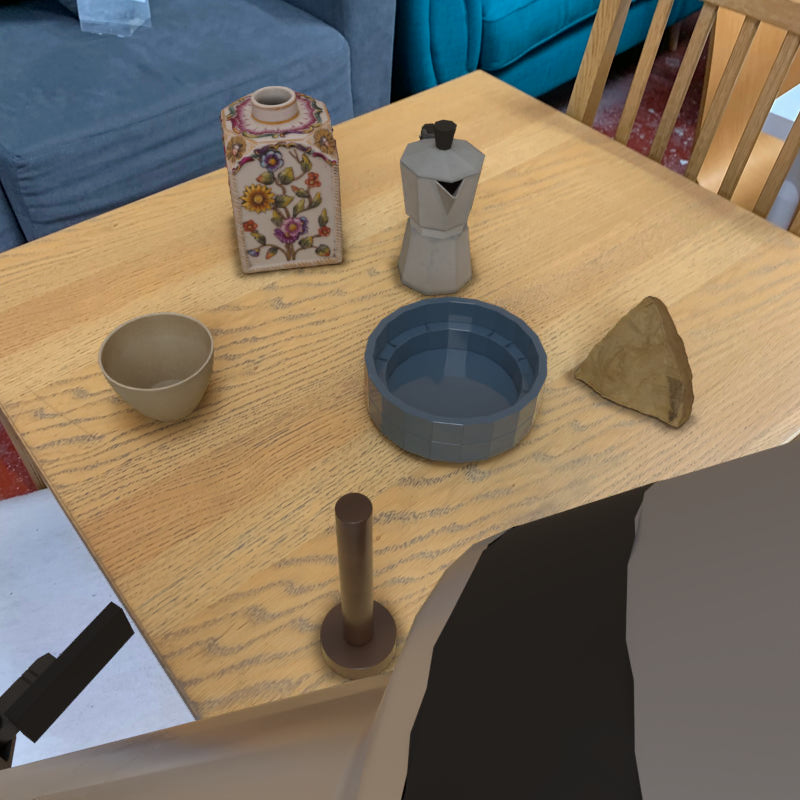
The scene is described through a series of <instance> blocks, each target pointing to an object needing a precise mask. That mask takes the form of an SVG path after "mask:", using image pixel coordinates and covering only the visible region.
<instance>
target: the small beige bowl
mask: <svg viewBox="0 0 800 800" xmlns="http://www.w3.org/2000/svg"><path fill="white" fill-rule="evenodd" d="M214 341H215V340H214V336H213V334H212V332H211V330H210V329H209V327H207V325H205V324H204V323H203V322H202V321H200V320H199V319H198V318H195V317H193V316H191V315H187V314H184V313H179V312H171V311H161V312H150V313H146V314H142V315H138V316H135V317H133V318H130V319H128V320H126V321H124V322H123V323H121V324H120V325H119V324H118V326H116V327H115V328H114V329H113V330H112V331H110V332H109V333H108V334H107V336H106V337H105V338H104V339H103V341H102V342H101V344H100V346H99V349H98V354H97V362H98V366H99V369H100V371H101V373H102V375H103V377H104V378H105V380H106V381H107V383H108V384H109V386H110V387H111V388H112V390H113V391H114V392H115V393H116V394H117V395H118V396H119V398H121V399H122V400H123V401H124V403H126V404H127V405H128V406H129V407H131V408H132V409H134V410H135V411H137V412H138V413H140V415H143V416H144V417H148V418H149V419H152V420H155V421H156V422H157V421H158V422H164V423H170V422H176V421H179V420H183V419H184V418H186V417H188V416H189V415H191V414H192V413H193V412H194V410H196V409H197V407H198V405H199V404H200V402H201V401H202V399H203V397H204V395H205V394H206V391H207V388H208V386H209V384H210V381H211V378H212V373H213V368H214V361H215V342H214Z"/></svg>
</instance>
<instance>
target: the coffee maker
mask: <svg viewBox="0 0 800 800" xmlns="http://www.w3.org/2000/svg"><path fill="white" fill-rule="evenodd" d="M457 127H458V124H457V123H456V122H454V121H453V120H449V119H439V120H437V121H434V123H432V122H430V123H424V124H423V125H422V126H421V129H420V134H418V139H419V140H415V141H413V142H409V143H407V144H406V146H405V149H404V151H403V152H402V155H401V157H400V159H399V167H400V177H401V185H402V193H403V201H404V202H403V204H404V210H405V215H407V216H408V218H407V220H406V225H405V230H404V232H403V233H404V234H403V238H402V243H401V248H400V251H399V256H398V261H397V269H398V274H399V277H400V281H401V282H400V283H401V285H403V286H406V287H408V288H410V289H412V290H413V291H416V292H418V293H420V294H423V295H425V296H426V297H427V296H438V295H449V294H450V295H451V294H457V293H458V292H460V291H461V289H462V288H463V287H465V285H466V284H468V283H469V281H471V280H472V279H473V272H472V259H471V245H470V233H469V232H470V231H469V226H468V221H469V218H470V217H469V216H470V213H471V211H472V208H473V204H474V201H475V197H476V193H477V189H478V186H479V182H480V181H479V180H480V177H481V174H482V169H483V166H484V161H485V158H486V155H485V153H483V152H482V151H481V150H479V148H477V147H476V146H474V145H473V144H472V143H471V142H469V141H468V140H466V139H460V138H455V134H456V132H457V131H456V130H457Z"/></svg>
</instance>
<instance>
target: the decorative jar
mask: <svg viewBox="0 0 800 800" xmlns="http://www.w3.org/2000/svg"><path fill="white" fill-rule="evenodd" d="M218 119H219V122H220V128H219V129H220V132H221V141H222V148H223V151H224V161H225V164H224V165H225V168H226V170H227V176H228V177H227V180H228V182H227V184H228V187H229V188H228V189H229V194H230V202H231V204H232V214H233V220H234V228H235V233H236V240H237V246H238V254H239V261H240V267H241V271H242V272H243V273H244V274H254V273H261V272H271V271H278V270H279V271H280V270H288V269H297V268H306V267H316V266H326V265H334V264H340V263H342V261H343V256H344V255H343V249H344V248H343V218H342V217H343V216H342V200H341V199H342V198H341V178H340V162H339V161H340V157H339V153H338V146H337V140H336V139H335V137H334V134H333V133H334V128H333V126H332V121H331V115H330V111H329V109H328V108H327V106H326V104H325V102H323V101H320V100H318V99H316V98H313V97H312V96H310V95H307V94H304V93H302V92H298V91H295V90H293V89H291V88H290V87H287V86H282V85H272V86H270V85H269V86H264V87H262V88H258V89H256V90H255V91H254V92H251V93H248V94H246V95H244V96H241V97H240V98H238V99H236V100H234V101H233V102H231V103H230V104H228V105H227V106H225V107H224V108H222V109H221V110H220V114H219V117H218Z"/></svg>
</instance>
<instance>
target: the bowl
mask: <svg viewBox="0 0 800 800" xmlns="http://www.w3.org/2000/svg"><path fill="white" fill-rule="evenodd" d="M367 338H368V339H367V342H366V346H365V350H364V355H363V367H364V369H363V371H364V374H363V375H364V377H363V378H364V398H365V402H366V407H367V408H366V409H367V411H368V415H369V417H370V418H371V420H372V421H373V423H374V424H375V426H376V427H377V429H378V430H379V432H380V433H381V434H382V435H383V436H384V437H385V438H387V439H388V440H390V441H391V442H393V443H394V444H395V445H396V446H398V447H399V448H400V449H402V450H403V451H406V452H409V453H411V454H414V455H417V456H419V457H422V458H424V459H427V460H430V461H437V462H438V461H439V462H445V463H456V464H463V463H472V462H477V461H478V462H479V461H486V460H489V459H491V458H493V457H495V456H497V455H500V454H502V453H505V452H507V451H510V450H511V449H513V448H515V446H516V445H518V443H519V442H521V441H522V440H523V439H524V438H525V437H526V436H527V435H529V434H530V432H531V430H532V428H533V426H534V424H535V422H536V420H537V418H538V415H539V413H540V408H541V404H542V399H543V394H544V392H545V387H546V384H547V383H546V382H547V379H548V354H547V352H546V349H545V348H544V346H543V344H542V341H541V339H540V337H539V335H538V334H537V333H536V332H535V330H534V329H532V327H531V326H530V325H528V323H527V322H526V321H525V320H524V319H523V318H521V317H519V316H517V315H516V314H515V313H512V312H510V311H509V310H507V309H505V308H503V307H502V306H499V305H497V304H494V303H490V302H487V301H483V300H480V299H477V298H470V297H459V296H441V297H430V298H424V299H419V300H417V301H414V302H412V303H411V302H410V303H408V304H405V305H402V306H400V307H398V308H396V309H395V310H393V311H391V313H389V314H388V315H386V316H385V317H383V318H382V319H381V320H380V321H379V322H378V323H377V325H376V326H375V327H374V329H373V330H372V332H371V333H370V334H369V336H368V337H367Z"/></svg>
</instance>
